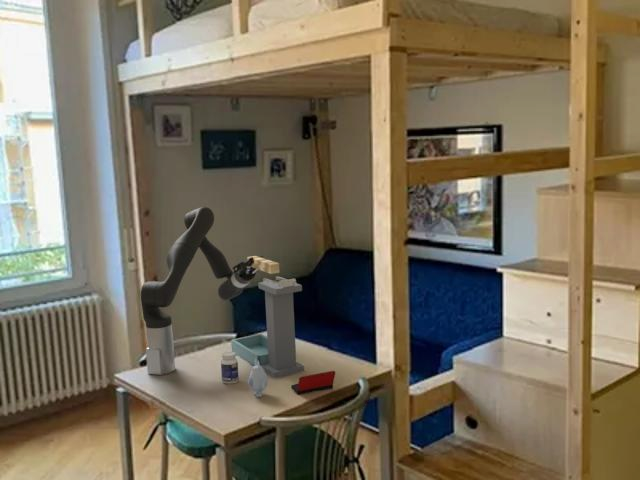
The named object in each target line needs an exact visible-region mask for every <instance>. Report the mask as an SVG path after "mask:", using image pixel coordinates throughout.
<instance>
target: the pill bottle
mask: <svg viewBox="0 0 640 480" xmlns="http://www.w3.org/2000/svg"><path fill="white" fill-rule="evenodd" d="M236 357H237V355H236V353H235V352H232V351H224V352H222V354H221V358H222V360H221V362H220V369H221V372H220V373H221V381H222V384H225V385H226V384H227V385H228V384H230V385H231V384H235V383H237V382H238V381H239V365H238V364H239V363H238V362H239V361H238V358H236Z"/></svg>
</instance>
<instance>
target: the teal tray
mask: <svg viewBox="0 0 640 480" xmlns="http://www.w3.org/2000/svg"><path fill="white" fill-rule="evenodd" d="M230 343H231V352H235V353H236V357H237V356H238V357H239V358H240V359H242V360H244V361H245V362H246V361H247V362H246V363H248V364H249V363H250V364H249V365H251V366H253V367H254V366H256V365H255V359H257V362H258V361H259V363H260V366H261V365H264V364H269V359H268V340H267V335H264V334H262V333H259V334H254V335H249V336H244V337H239V338H238V337H237V338H234V339H231V342H230Z"/></svg>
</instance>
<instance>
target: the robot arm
mask: <svg viewBox="0 0 640 480" xmlns="http://www.w3.org/2000/svg"><path fill="white" fill-rule="evenodd" d="M183 217H184V218H183V222H184V226H185V228H186V231H185V232H183V234H181V235H180V236H179V237H178V238H177V239H176V240H175V241H174V243H173V244H172V245H171V247H170V249H169V251H168V253H167V255H166V265H167V268H168V275H167V276H166V278H165V280H164V281H154V280H153V281H146V282H144V283H143V284H142V286H141V288H140V289H141V290H140V303H141V311H142V319H143V321H144V323H145V336H146V342H147V343H146V344H147V347H146V348H145V356H146V371H147V374H148V375H156V376H163V375H166V374H169V373H172V372H174V371H175V370H176V361H175V350H174V349H175V348H174V347H175V346H174V335H173V322H172V317H171V315H169V314H167V313H166V312H164V311H162V310H161V309H160V308H169V306H171V304H173V302H174V300H175V297H176V295H177V292H178V290H179V287H180V285H181V282H182V280H183V278H184V275H185V274H186V272H187V269H188V268H189V267H190V264H191V263H192V261H193V259H194V258H195V255H196V253H197V251H198V250H199V249H200V251H201V252H202V254H203V255H204V257H205V259H206V261H207V262H208V264H209V267H210V269H211V271H212V273H213V275H214V277H215V279H217V280H220V279H224V278H225V279H226V280H225V281H224V282H223V283H221V284H220V285H219V287H218V288H217V294H218V297H219V298H220V299H221V300H223V301H230V300H231V299H234V298H236V297H237V296H240V294H242V293H244V288H246V286H248V285H249V284H250V283H251V282H252V280H254V278H255V277H256V274H257V272H259V270H258V269H255V268H253V267H250V266H251V265H252V264H253V263H254V260H253V257H251V256H250V257H251V258H250V259H249V260H248V259H247V260H246V261H241V262H239V263H238V264H236V265H234V266H233V267H232V268H231V267H230V264H229V263H228V260H227V259H226V257H225V255H224V253H223V252H222V251H221V250H220V249H219V248H218V247H217V246H215V245H214V244H213V243H212V242H211V241H210V240H209V239H208V238H207V236H206V235H208V233H209V231H211V228H212V227H213V225H214V222H215V214H214V212H213V210H212V209H211V208H210V207H208V206H200V207H198V208H196V209H194V210H190V211H189V212H187V213H185V215H184V216H183ZM259 257H260V258H264V255H260V256H259ZM264 259H265V258H264Z"/></svg>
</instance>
